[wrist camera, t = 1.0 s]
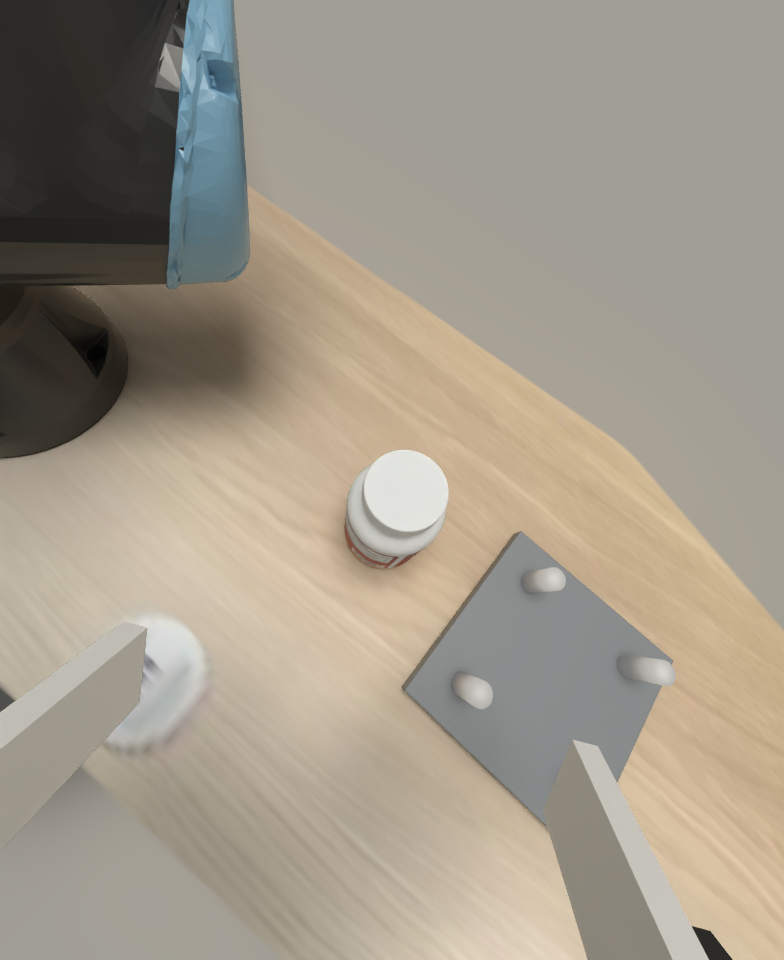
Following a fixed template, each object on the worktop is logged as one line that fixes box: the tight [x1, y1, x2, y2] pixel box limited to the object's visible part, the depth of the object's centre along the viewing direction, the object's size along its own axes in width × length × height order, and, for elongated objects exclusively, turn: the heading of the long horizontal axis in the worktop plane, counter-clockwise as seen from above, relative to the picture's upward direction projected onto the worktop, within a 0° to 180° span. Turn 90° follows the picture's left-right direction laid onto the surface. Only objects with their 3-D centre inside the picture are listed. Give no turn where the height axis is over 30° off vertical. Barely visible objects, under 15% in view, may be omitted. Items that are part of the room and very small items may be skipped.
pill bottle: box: [345, 450, 449, 569], centre depth 25 cm, size 6×6×11 cm
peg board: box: [402, 531, 676, 827], centre depth 26 cm, size 15×15×5 cm
